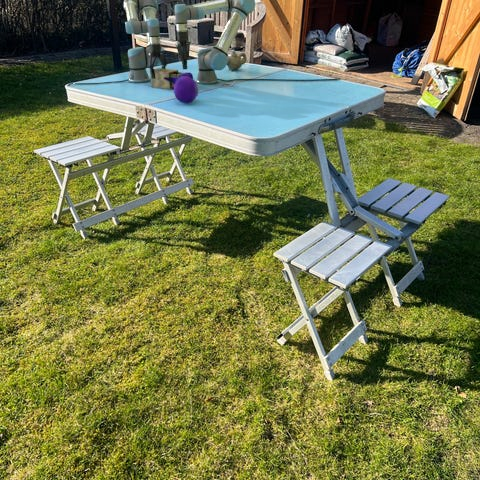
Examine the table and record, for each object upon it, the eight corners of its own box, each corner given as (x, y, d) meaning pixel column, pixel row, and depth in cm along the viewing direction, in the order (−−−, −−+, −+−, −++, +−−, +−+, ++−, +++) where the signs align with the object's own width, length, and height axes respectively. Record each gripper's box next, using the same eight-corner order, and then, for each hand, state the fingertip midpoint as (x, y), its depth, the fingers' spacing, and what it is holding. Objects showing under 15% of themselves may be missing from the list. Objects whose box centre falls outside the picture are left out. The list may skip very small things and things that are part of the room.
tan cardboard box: (179, 86, 319) (178, 69, 314) (170, 89, 312) (168, 72, 306) (161, 84, 328) (159, 68, 322) (151, 86, 321) (149, 70, 315)
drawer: (194, 87, 311) (193, 73, 307) (186, 89, 305) (185, 75, 300) (170, 84, 322) (169, 70, 318) (161, 86, 316) (160, 72, 311)
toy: (187, 94, 295) (198, 108, 275) (161, 90, 288) (170, 104, 267) (192, 70, 287) (203, 83, 267) (165, 65, 280) (175, 77, 259)
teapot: (227, 72, 362) (226, 52, 355) (220, 70, 371) (219, 51, 363) (249, 69, 371) (249, 50, 364) (242, 67, 380) (242, 48, 372)
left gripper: (147, 45, 298) (151, 80, 310) (170, 41, 315) (173, 74, 326) (139, 45, 302) (143, 79, 313) (162, 41, 318) (165, 73, 330)
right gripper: (179, 32, 285) (183, 71, 297) (193, 30, 294) (195, 68, 306) (171, 31, 289) (174, 70, 301) (184, 29, 298) (187, 67, 310)
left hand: (158, 77), depth 320 cm, fingers closed on tan cardboard box, 10 cm apart
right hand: (185, 69), depth 303 cm, fingers closed
